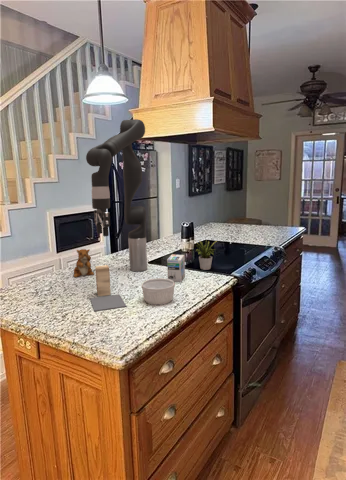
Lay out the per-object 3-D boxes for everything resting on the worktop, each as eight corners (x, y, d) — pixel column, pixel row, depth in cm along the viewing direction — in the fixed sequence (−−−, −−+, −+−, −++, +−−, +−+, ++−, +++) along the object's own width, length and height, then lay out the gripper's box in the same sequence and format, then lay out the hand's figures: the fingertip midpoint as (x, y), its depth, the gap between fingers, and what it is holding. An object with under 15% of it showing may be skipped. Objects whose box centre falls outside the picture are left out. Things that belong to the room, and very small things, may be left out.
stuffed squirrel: (74, 278, 167) (72, 252, 164) (72, 271, 180) (71, 246, 178) (94, 276, 170) (93, 250, 168) (92, 269, 183) (90, 245, 181)
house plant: (185, 270, 176) (185, 239, 173) (194, 264, 189) (194, 235, 186) (212, 273, 171) (212, 241, 168) (219, 266, 184) (219, 236, 181)
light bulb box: (181, 282, 158) (181, 259, 156) (167, 281, 159) (166, 259, 157) (185, 275, 168) (185, 254, 166) (171, 275, 170) (171, 254, 168)
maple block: (97, 293, 145) (95, 266, 143) (108, 292, 147) (107, 265, 144) (98, 297, 141) (96, 269, 138) (110, 295, 142) (109, 268, 140)
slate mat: (90, 298, 139) (90, 298, 139) (119, 294, 143) (119, 294, 143) (94, 311, 126) (94, 310, 126) (126, 306, 130) (126, 305, 130)
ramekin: (163, 308, 128) (162, 290, 127) (135, 302, 135) (134, 285, 133) (181, 297, 139) (180, 281, 138) (154, 292, 146) (154, 276, 144)
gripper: (115, 197, 141) (116, 236, 144) (104, 196, 153) (105, 231, 156) (97, 198, 137) (99, 238, 140) (87, 196, 150) (89, 233, 152)
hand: (102, 234), depth 148 cm, fingers open, 8 cm apart
